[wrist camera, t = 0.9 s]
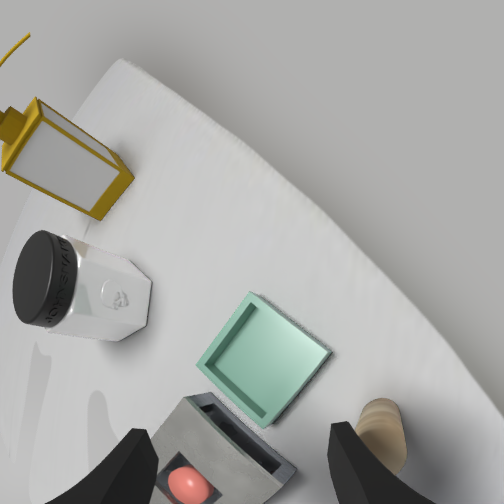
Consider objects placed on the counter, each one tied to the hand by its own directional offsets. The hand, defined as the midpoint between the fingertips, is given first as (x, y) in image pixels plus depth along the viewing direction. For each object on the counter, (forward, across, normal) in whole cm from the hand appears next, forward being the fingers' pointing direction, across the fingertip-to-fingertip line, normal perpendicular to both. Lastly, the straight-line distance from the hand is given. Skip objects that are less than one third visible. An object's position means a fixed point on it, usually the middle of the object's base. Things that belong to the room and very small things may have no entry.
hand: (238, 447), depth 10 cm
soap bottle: (+32, +16, -12) cm, 38 cm away
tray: (+13, -1, +5) cm, 14 cm away
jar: (+22, +13, +2) cm, 25 cm away
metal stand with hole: (+9, +4, +15) cm, 18 cm away
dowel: (+7, -9, +7) cm, 14 cm away
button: (+7, +5, +14) cm, 16 cm away
